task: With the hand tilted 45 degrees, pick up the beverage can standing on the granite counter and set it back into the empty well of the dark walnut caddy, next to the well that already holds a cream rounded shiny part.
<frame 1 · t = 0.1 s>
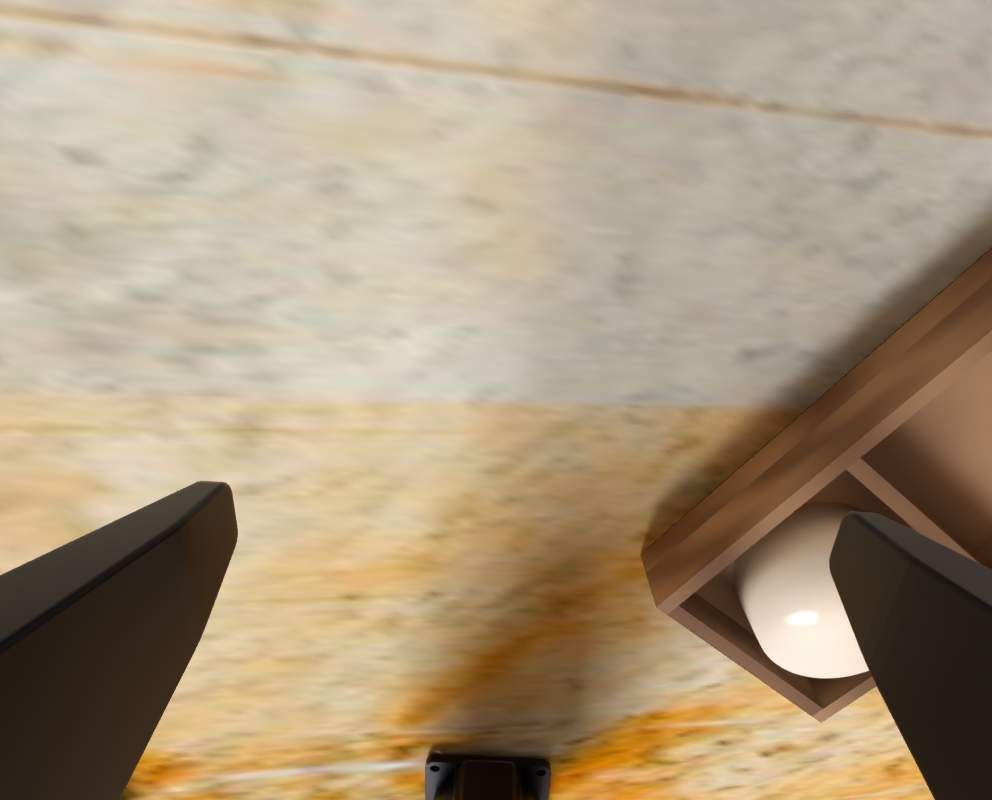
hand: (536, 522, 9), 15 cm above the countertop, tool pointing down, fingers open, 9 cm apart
cream rounded shiny part: (798, 549, 27), resting on caddy
caddy: (881, 483, 26), on the countertop
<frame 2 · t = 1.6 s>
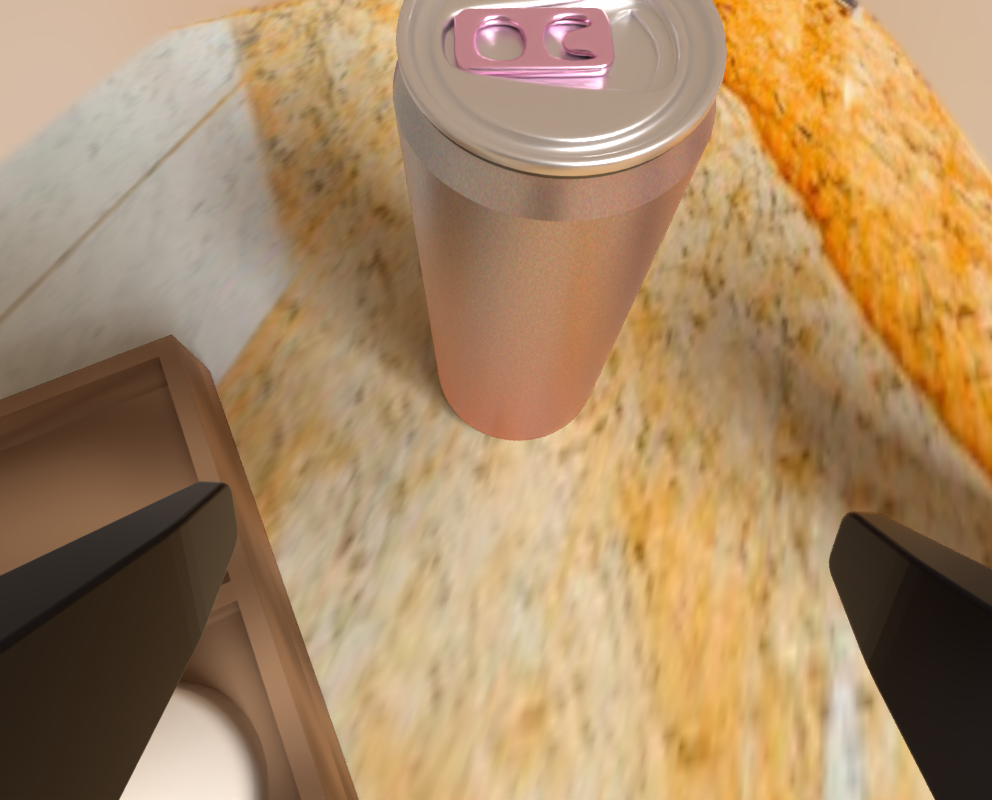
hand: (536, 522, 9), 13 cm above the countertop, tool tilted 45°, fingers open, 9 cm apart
beverage can: (515, 374, 25), on the countertop
cream rounded shiny part: (176, 790, 20), resting on caddy
caddy: (140, 655, 21), on the countertop
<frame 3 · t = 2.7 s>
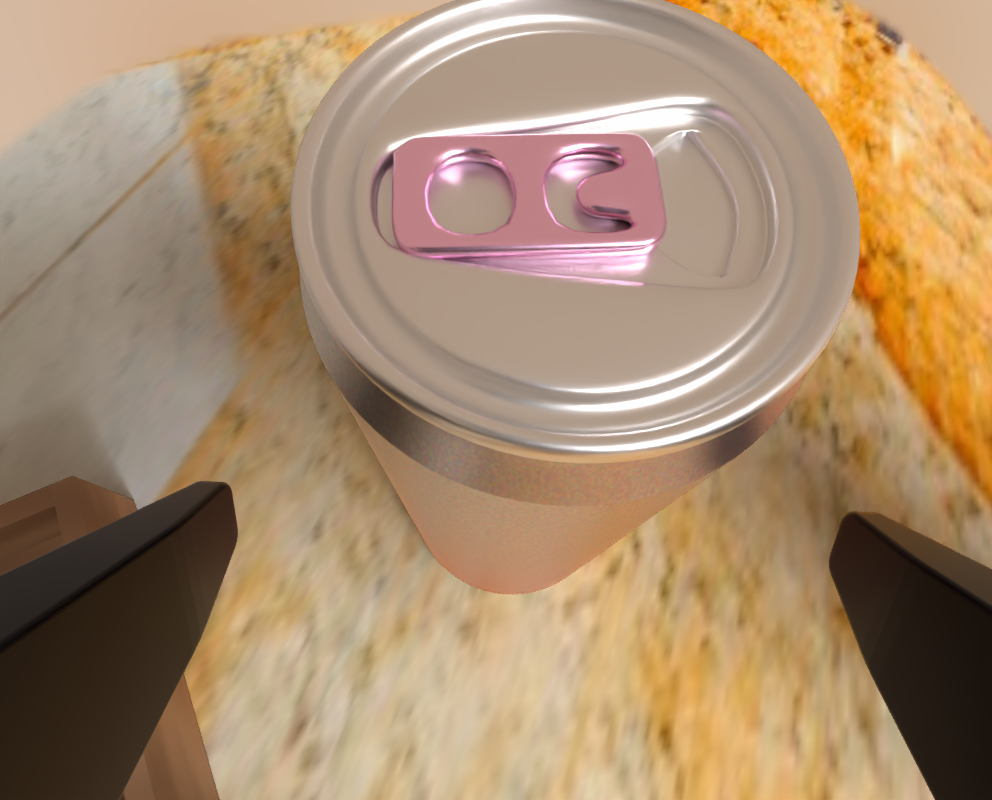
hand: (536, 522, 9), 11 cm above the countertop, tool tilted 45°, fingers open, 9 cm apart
beverage can: (509, 499, 20), on the countertop
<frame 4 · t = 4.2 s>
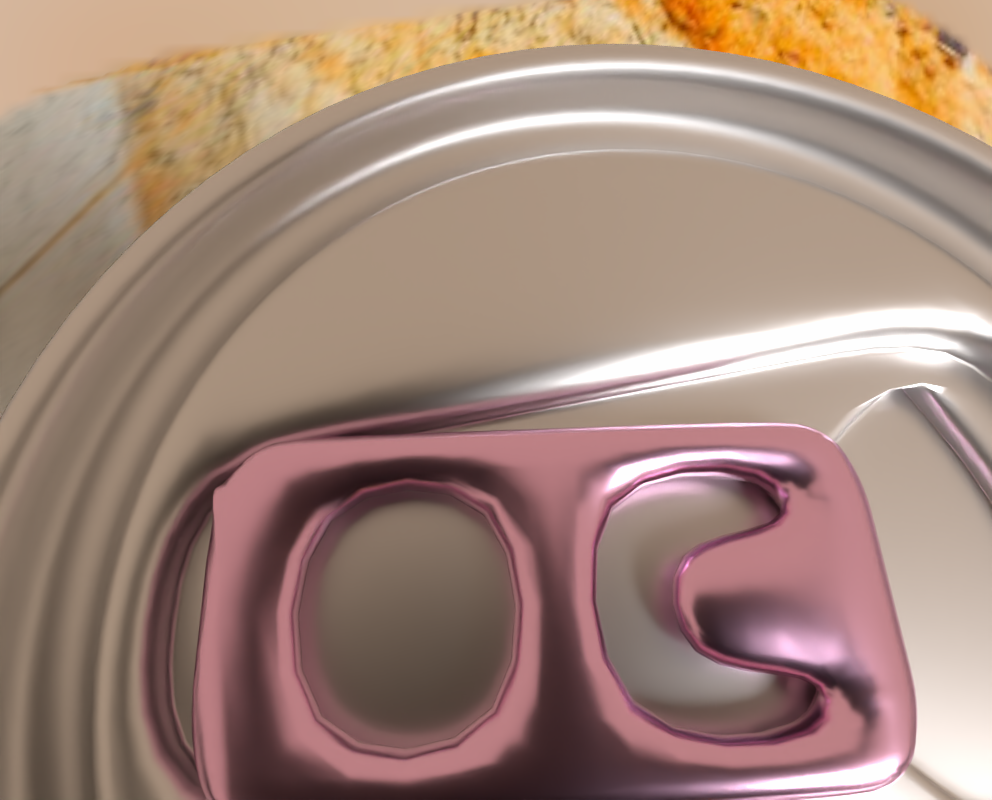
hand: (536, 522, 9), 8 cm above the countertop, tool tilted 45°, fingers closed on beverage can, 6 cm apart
beverage can: (508, 627, 17), on the countertop, touching gripper
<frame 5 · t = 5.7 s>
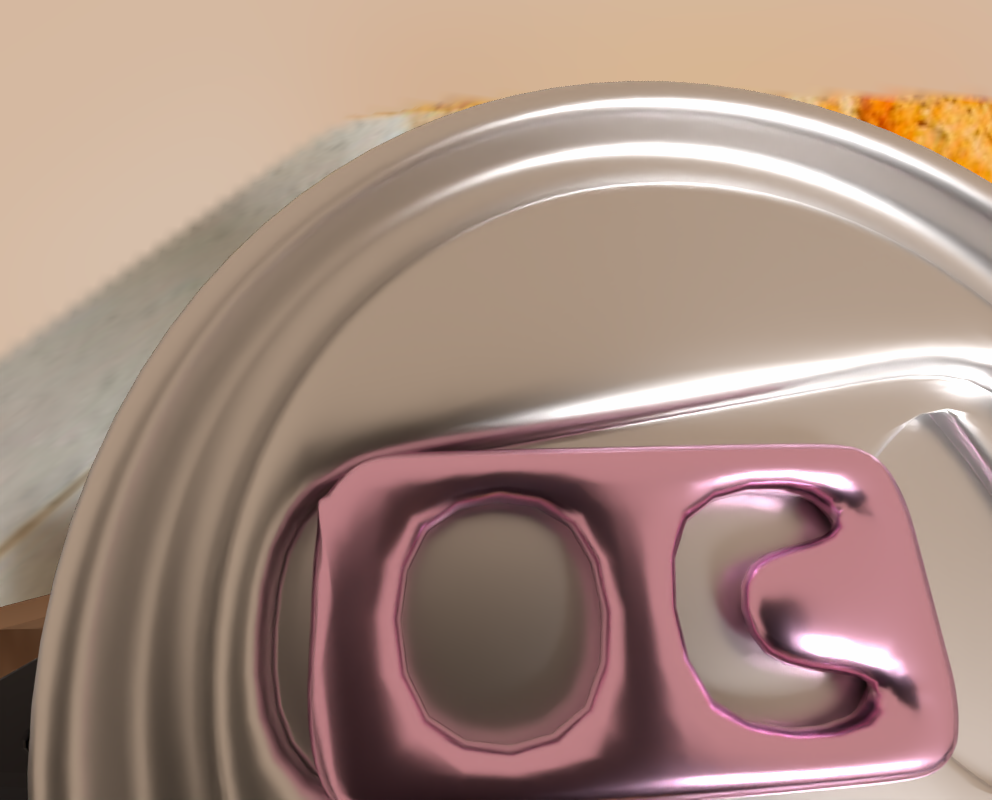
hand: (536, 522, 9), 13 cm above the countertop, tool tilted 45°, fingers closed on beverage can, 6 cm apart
beverage can: (483, 620, 17), point 5 cm above the countertop, touching gripper
when the fingers open (10 cm above the countertop, at t = 7.2 s): beverage can stays where it is, resting on caddy.
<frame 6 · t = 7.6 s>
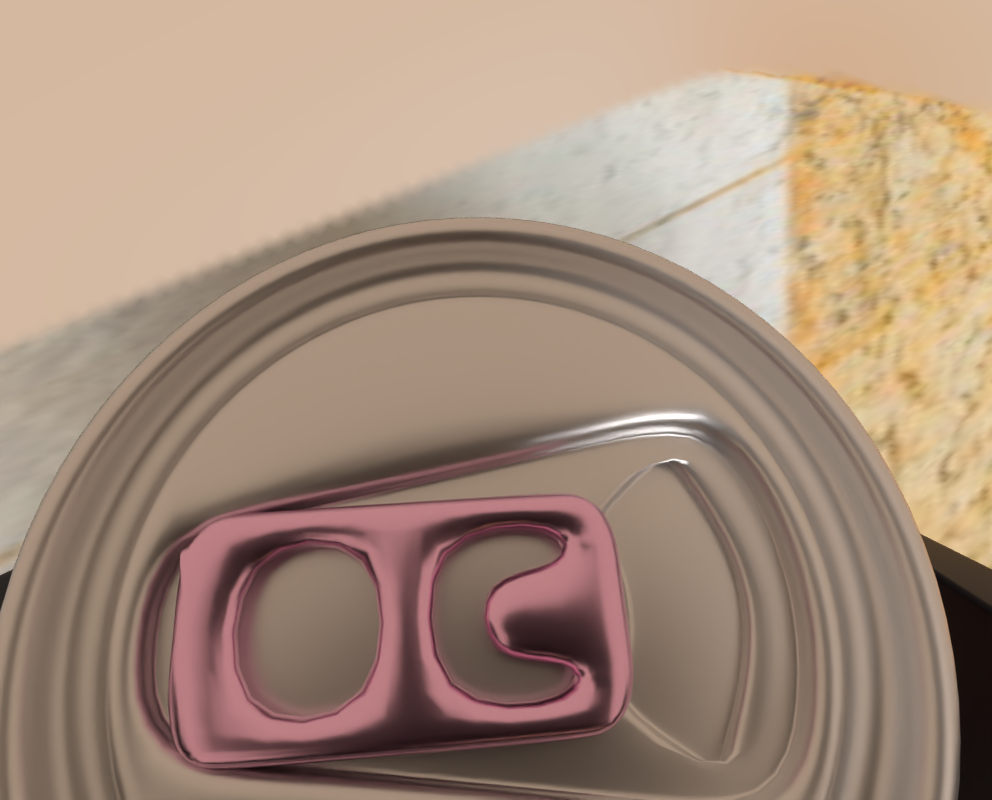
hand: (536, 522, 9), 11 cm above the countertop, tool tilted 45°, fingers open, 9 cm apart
beverage can: (479, 628, 18), point 1 cm above the countertop, touching caddy
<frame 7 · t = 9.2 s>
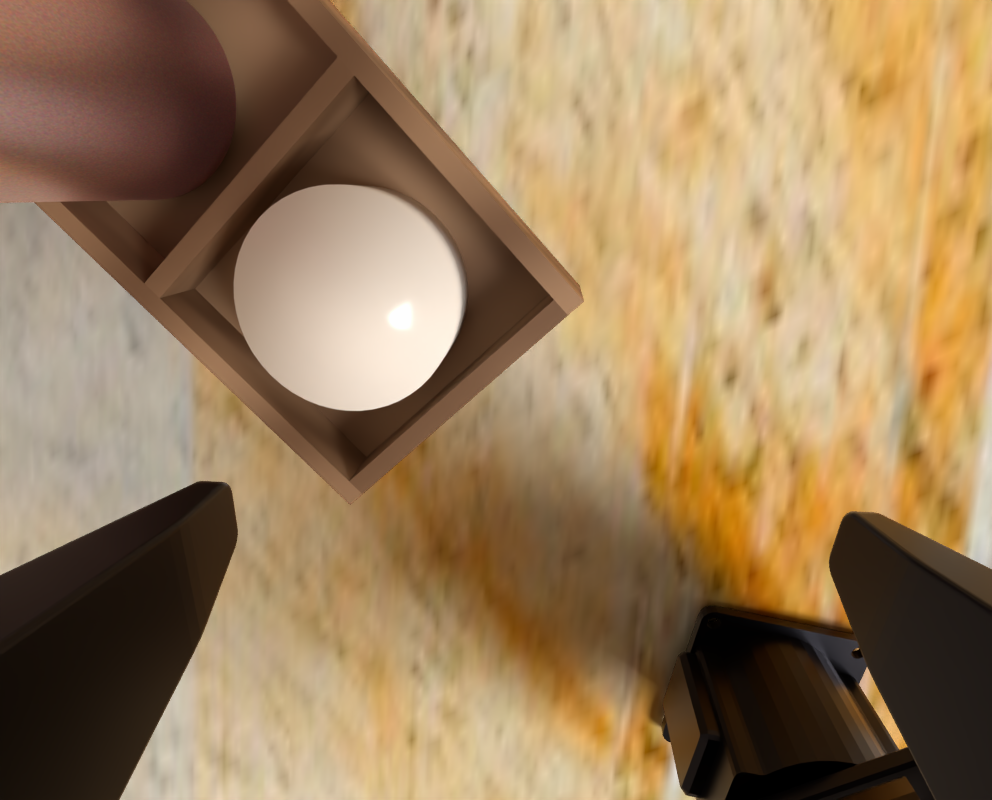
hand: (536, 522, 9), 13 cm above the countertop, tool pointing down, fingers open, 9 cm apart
beverage can: (156, 98, 19), point 1 cm above the countertop, touching caddy
cream rounded shiny part: (380, 284, 22), resting on caddy
caddy: (287, 187, 21), on the countertop
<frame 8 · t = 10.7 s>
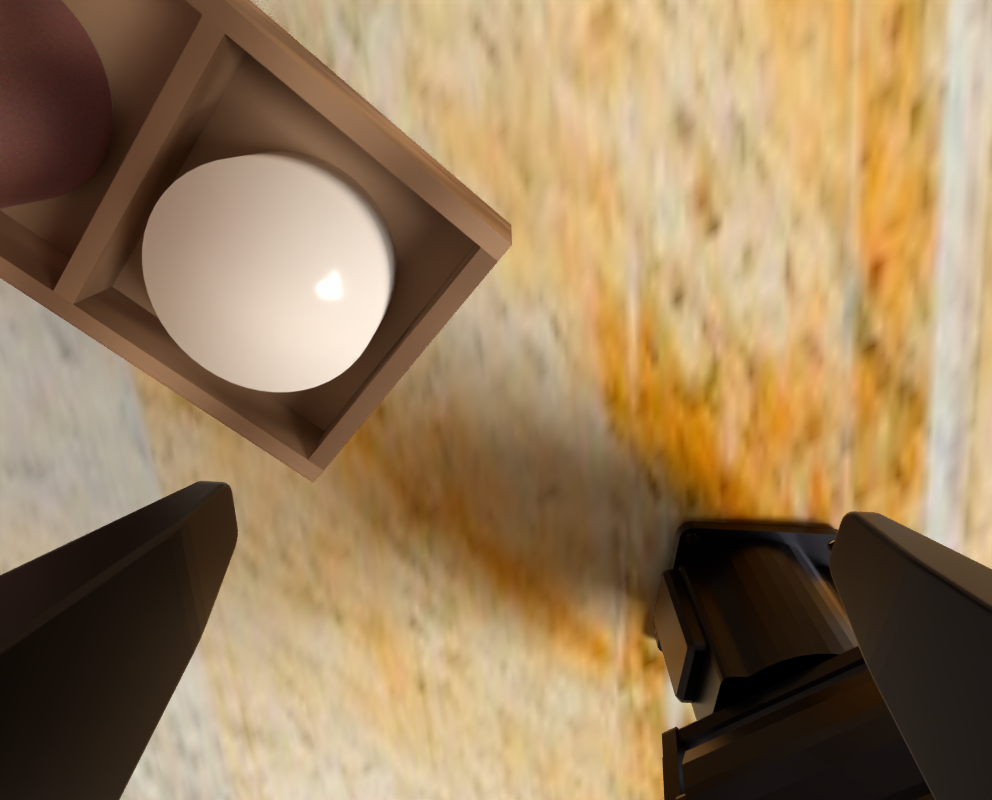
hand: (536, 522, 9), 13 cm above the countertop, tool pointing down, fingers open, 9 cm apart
beverage can: (22, 86, 18), point 1 cm above the countertop, touching caddy
cream rounded shiny part: (305, 253, 21), resting on caddy
caddy: (187, 163, 20), on the countertop
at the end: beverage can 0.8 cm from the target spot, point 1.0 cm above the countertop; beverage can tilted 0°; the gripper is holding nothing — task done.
